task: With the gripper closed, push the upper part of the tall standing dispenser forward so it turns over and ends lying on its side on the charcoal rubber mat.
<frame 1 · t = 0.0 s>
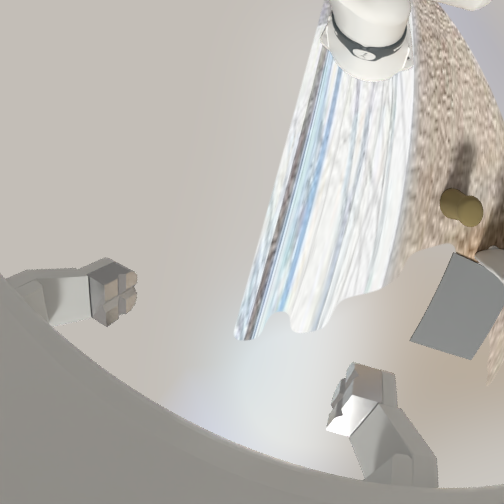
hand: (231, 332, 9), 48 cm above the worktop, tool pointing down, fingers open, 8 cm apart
cork: (452, 203, 44), on the worktop
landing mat: (465, 312, 48), on the worktop
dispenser: (491, 254, 43), on the worktop
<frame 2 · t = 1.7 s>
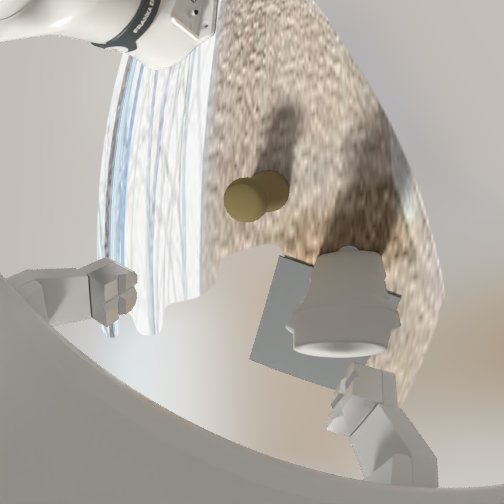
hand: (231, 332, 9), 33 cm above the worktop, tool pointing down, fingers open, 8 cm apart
cork: (269, 190, 41), on the worktop
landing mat: (318, 333, 45), on the worktop
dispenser: (348, 258, 40), on the worktop
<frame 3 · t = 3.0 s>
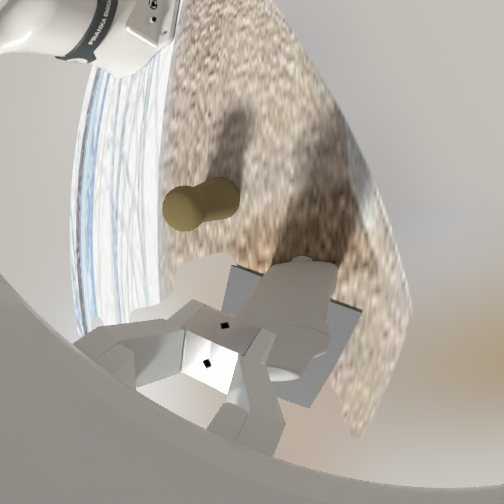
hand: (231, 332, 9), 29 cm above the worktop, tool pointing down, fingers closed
cork: (220, 198, 40), on the worktop
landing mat: (275, 346, 44), on the worktop
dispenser: (303, 269, 39), on the worktop
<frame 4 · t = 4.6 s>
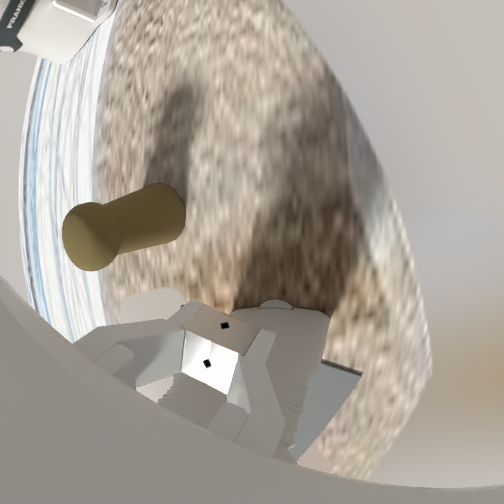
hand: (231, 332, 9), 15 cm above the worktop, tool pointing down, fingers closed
cork: (161, 213, 27), on the worktop
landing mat: (245, 405, 31), on the worktop
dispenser: (278, 317, 26), on the worktop
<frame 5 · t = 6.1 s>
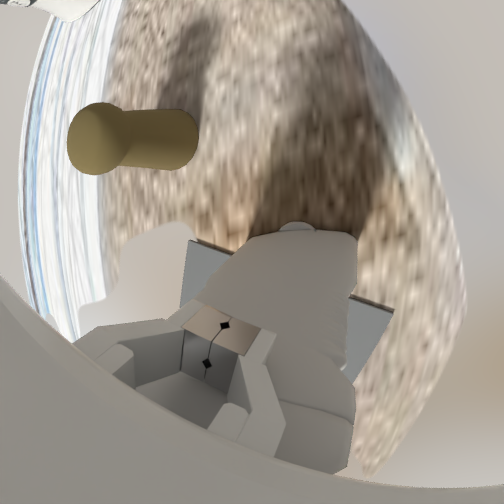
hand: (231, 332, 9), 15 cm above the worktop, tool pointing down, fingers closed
cork: (172, 139, 25), on the worktop
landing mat: (259, 363, 29), on the worktop
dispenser: (299, 244, 24), on the worktop, touching gripper
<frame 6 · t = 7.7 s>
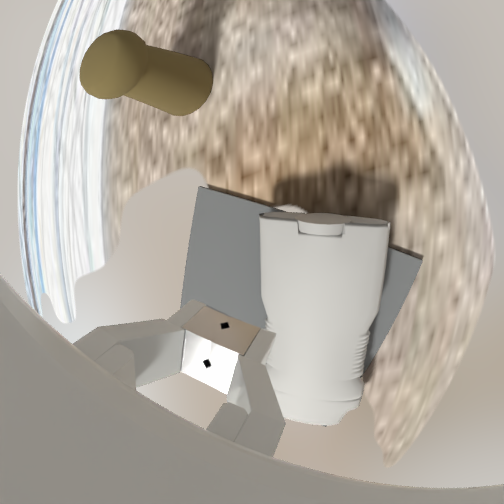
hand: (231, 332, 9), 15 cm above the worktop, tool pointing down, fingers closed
cork: (185, 86, 23), on the worktop
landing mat: (274, 328, 27), on the worktop
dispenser: (323, 214, 20), point 2 cm above the worktop, touching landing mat
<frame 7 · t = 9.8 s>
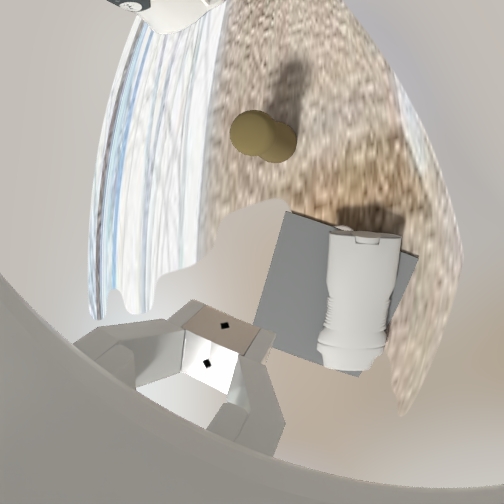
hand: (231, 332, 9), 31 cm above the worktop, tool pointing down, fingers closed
cork: (275, 142, 38), on the worktop
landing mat: (328, 303, 41), on the worktop
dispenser: (366, 232, 35), point 2 cm above the worktop, touching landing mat
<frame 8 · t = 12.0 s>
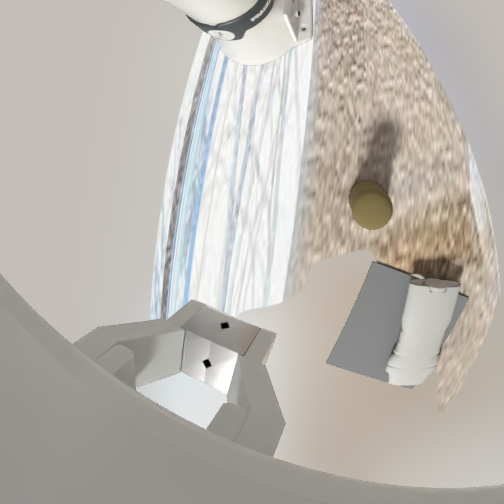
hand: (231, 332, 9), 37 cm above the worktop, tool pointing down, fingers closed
cork: (367, 199, 41), on the worktop
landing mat: (397, 333, 45), on the worktop
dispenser: (436, 281, 38), point 2 cm above the worktop, touching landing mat
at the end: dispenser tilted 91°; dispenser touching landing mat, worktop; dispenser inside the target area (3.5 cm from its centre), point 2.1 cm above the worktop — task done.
